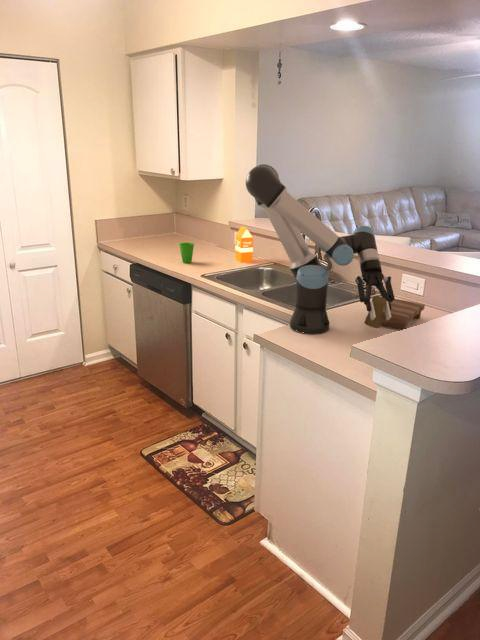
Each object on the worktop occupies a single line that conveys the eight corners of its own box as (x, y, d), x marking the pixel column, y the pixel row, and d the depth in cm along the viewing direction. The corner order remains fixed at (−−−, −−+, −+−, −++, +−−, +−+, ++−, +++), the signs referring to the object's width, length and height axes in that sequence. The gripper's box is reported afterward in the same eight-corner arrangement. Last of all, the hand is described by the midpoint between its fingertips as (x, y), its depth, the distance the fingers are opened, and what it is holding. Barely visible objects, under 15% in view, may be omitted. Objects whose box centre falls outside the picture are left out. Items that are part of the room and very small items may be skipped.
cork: (377, 323, 194) (385, 295, 190) (382, 329, 188) (390, 300, 185) (362, 320, 193) (370, 293, 190) (366, 326, 188) (374, 298, 184)
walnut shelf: (406, 331, 197) (408, 316, 195) (371, 323, 204) (373, 309, 202) (422, 318, 212) (424, 304, 210) (390, 311, 220) (391, 298, 218)
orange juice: (246, 258, 312) (247, 225, 306) (252, 261, 305) (253, 227, 298) (235, 259, 310) (235, 226, 303) (240, 262, 302) (241, 228, 295)
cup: (192, 264, 295) (191, 245, 292) (177, 263, 297) (176, 244, 293) (196, 261, 304) (196, 242, 300) (181, 260, 305) (181, 242, 302)
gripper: (388, 268, 200) (400, 322, 191) (343, 268, 197) (353, 323, 188) (396, 258, 194) (409, 314, 184) (350, 258, 191) (360, 314, 181)
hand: (381, 318), depth 186 cm, fingers closed on cork, 5 cm apart
